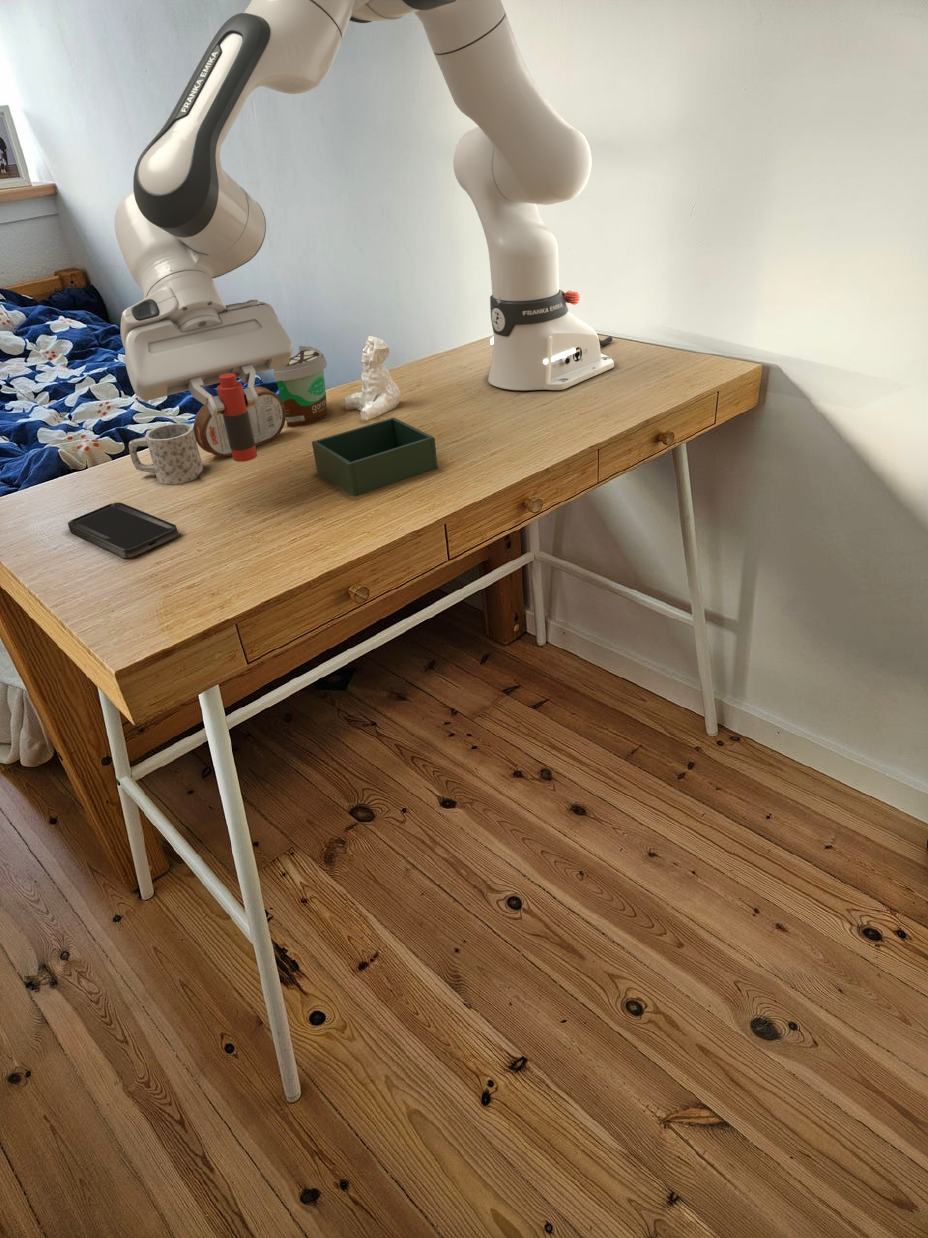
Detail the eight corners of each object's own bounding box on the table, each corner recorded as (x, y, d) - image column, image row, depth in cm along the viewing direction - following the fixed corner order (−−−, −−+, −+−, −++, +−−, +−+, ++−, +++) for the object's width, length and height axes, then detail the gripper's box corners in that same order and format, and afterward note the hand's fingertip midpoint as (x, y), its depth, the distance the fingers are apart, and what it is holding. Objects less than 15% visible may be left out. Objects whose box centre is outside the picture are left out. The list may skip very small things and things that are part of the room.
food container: (320, 429, 142) (309, 367, 137) (284, 429, 143) (271, 368, 138) (344, 403, 152) (335, 344, 147) (310, 403, 153) (300, 344, 148)
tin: (282, 430, 143) (271, 378, 139) (293, 434, 141) (283, 382, 137) (199, 461, 135) (185, 407, 130) (210, 466, 133) (196, 411, 128)
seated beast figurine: (342, 408, 150) (330, 336, 143) (388, 396, 153) (379, 325, 147) (365, 423, 143) (354, 348, 136) (413, 410, 146) (404, 336, 140)
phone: (117, 500, 121) (179, 526, 113) (119, 508, 122) (182, 534, 113) (63, 523, 117) (124, 552, 108) (66, 531, 117) (127, 560, 108)
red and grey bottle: (251, 450, 115) (234, 369, 109) (261, 457, 113) (243, 375, 107) (229, 457, 114) (210, 375, 108) (238, 464, 111) (219, 381, 106)
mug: (209, 464, 133) (198, 421, 130) (195, 483, 128) (183, 438, 124) (145, 468, 134) (133, 425, 131) (128, 486, 129) (115, 442, 125)
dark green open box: (397, 449, 132) (393, 416, 129) (438, 471, 124) (434, 437, 121) (317, 475, 126) (311, 441, 124) (354, 499, 118) (348, 464, 116)
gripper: (263, 312, 118) (308, 400, 117) (109, 346, 110) (154, 442, 108) (270, 281, 113) (317, 374, 111) (108, 314, 104) (156, 416, 102)
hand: (235, 408), depth 109 cm, fingers closed on red and grey bottle, 3 cm apart
